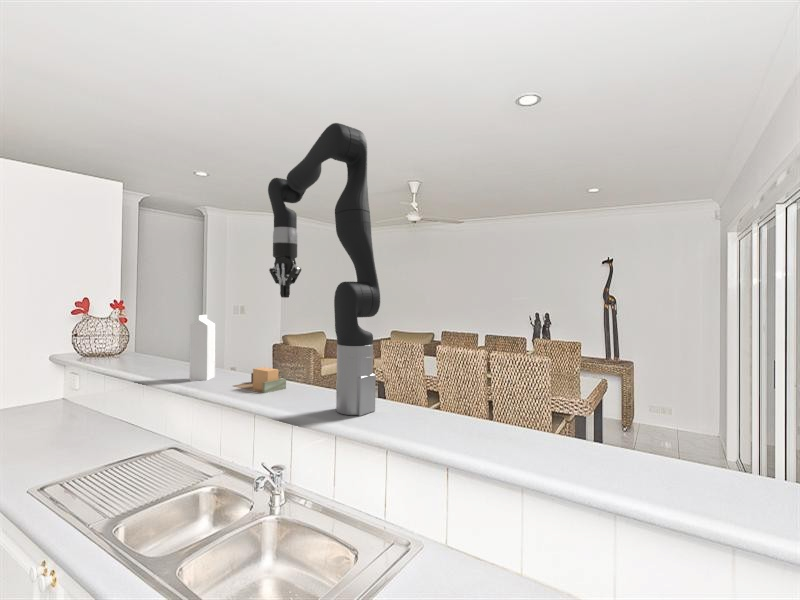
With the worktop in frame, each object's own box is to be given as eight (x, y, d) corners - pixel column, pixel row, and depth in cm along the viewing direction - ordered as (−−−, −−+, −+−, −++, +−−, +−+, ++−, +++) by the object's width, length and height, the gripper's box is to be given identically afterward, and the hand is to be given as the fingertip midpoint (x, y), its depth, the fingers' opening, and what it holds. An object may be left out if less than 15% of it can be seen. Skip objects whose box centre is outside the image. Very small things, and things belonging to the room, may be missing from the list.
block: (278, 389, 137) (278, 369, 137) (267, 391, 133) (267, 371, 133) (263, 386, 141) (263, 367, 141) (252, 388, 137) (253, 368, 137)
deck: (286, 390, 138) (286, 378, 138) (264, 394, 131) (264, 382, 131) (253, 383, 147) (253, 372, 147) (231, 387, 140) (231, 376, 140)
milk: (189, 381, 148) (189, 315, 148) (198, 377, 155) (198, 314, 154) (207, 381, 148) (207, 315, 148) (215, 378, 154) (215, 314, 154)
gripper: (308, 242, 141) (308, 297, 141) (280, 245, 148) (280, 297, 148) (290, 240, 135) (290, 297, 135) (261, 242, 142) (261, 297, 142)
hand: (284, 297), depth 142 cm, fingers closed
